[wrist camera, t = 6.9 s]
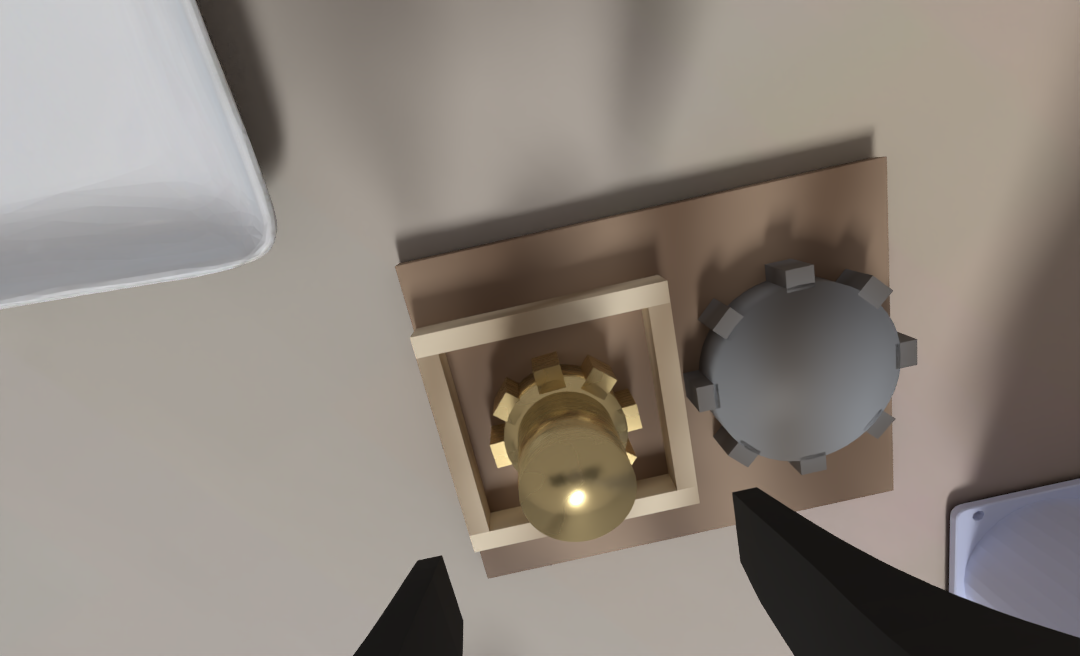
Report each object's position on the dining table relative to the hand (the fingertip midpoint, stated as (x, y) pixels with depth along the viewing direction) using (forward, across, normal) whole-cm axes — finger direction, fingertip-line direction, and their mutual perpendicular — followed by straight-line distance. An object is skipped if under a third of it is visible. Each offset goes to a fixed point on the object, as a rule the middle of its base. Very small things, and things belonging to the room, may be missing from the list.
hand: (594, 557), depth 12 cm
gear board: (+9, -4, 0) cm, 10 cm away
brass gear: (+8, 0, 0) cm, 8 cm away
